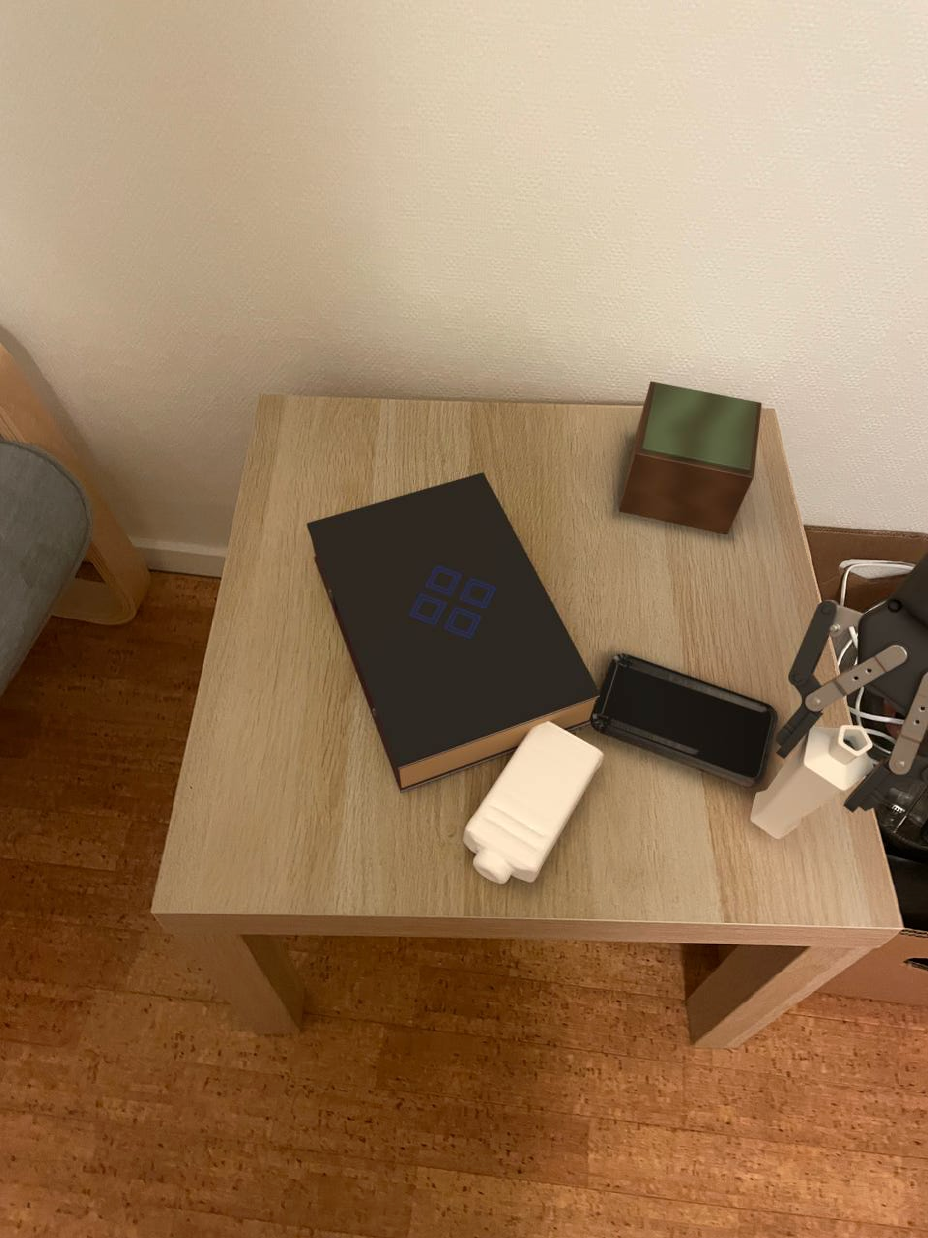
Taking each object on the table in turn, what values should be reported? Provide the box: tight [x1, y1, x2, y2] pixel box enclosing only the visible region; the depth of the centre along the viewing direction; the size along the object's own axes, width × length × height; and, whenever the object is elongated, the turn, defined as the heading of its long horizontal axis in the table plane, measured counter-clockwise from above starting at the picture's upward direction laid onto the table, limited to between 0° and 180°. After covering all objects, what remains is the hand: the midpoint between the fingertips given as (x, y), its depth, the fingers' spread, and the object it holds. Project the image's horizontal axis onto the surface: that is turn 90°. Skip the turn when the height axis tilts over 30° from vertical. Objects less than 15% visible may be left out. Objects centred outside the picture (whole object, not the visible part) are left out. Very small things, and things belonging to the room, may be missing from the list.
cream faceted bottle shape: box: [750, 724, 875, 840], centre depth 60 cm, size 5×4×15 cm
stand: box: [619, 380, 763, 535], centre depth 84 cm, size 11×10×9 cm
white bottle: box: [462, 721, 604, 885], centre depth 67 cm, size 6×13×4 cm, turn 148°
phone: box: [590, 652, 779, 788], centre depth 73 cm, size 8×1×15 cm
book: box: [306, 471, 601, 794], centre depth 75 cm, size 17×25×7 cm
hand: (815, 778), depth 56 cm, fingers closed on cream faceted bottle shape, 4 cm apart
